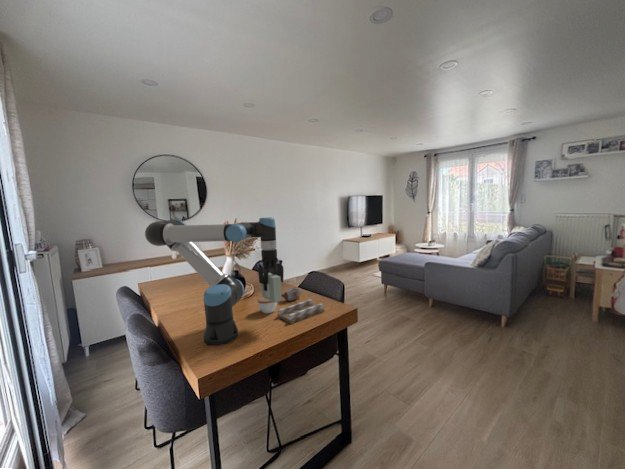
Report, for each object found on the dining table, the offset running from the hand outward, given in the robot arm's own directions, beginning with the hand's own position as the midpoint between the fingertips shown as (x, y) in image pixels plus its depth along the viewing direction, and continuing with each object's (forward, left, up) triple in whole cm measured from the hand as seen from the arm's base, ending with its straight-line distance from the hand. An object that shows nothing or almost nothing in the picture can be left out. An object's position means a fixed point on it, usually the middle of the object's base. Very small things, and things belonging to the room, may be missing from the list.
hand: (271, 295), depth 129 cm
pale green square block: (0, 0, -2) cm, 2 cm away
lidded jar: (+6, +17, -15) cm, 23 cm away
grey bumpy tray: (+17, 0, -15) cm, 23 cm away
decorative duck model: (+27, +24, -15) cm, 39 cm away
